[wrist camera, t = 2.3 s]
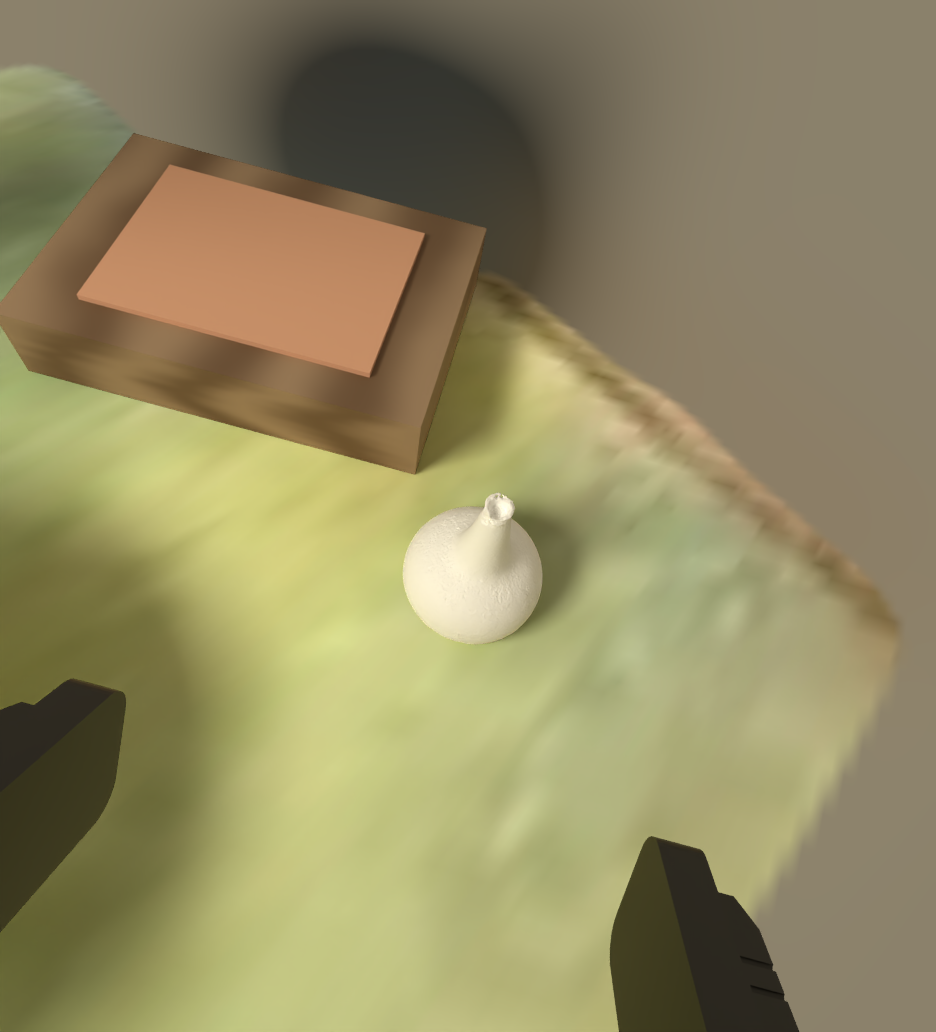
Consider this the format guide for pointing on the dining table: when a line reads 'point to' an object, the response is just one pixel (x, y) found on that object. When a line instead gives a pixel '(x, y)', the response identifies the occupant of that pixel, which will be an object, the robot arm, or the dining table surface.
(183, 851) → the dining table surface
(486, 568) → the garlic bulb
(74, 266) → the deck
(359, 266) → the mat
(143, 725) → the dining table surface
